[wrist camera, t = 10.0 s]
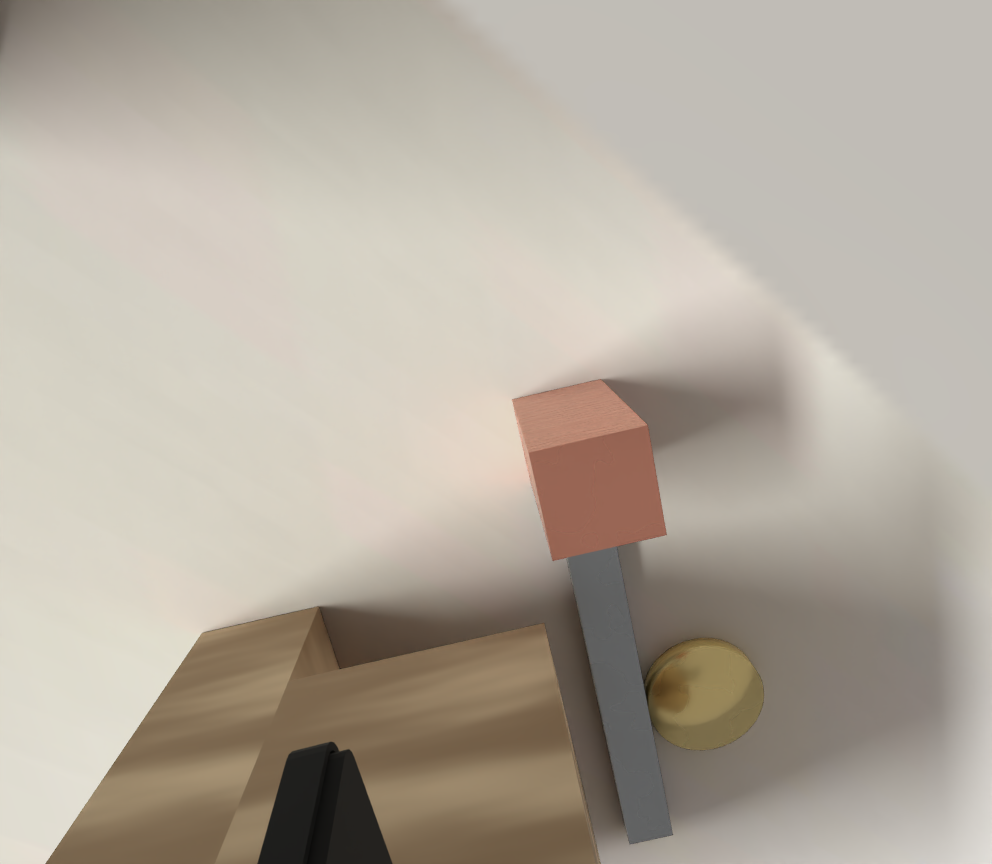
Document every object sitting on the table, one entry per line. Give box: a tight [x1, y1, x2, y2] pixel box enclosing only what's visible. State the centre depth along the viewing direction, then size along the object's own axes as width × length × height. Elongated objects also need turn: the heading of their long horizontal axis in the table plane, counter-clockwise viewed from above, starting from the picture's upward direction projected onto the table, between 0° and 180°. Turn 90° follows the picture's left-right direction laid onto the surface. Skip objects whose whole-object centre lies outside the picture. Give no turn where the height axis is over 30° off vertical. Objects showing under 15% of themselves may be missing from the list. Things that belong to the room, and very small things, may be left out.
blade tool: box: [512, 379, 673, 844], centre depth 26 cm, size 21×4×7 cm, turn 13°
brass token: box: [644, 638, 764, 750], centre depth 30 cm, size 5×5×1 cm
